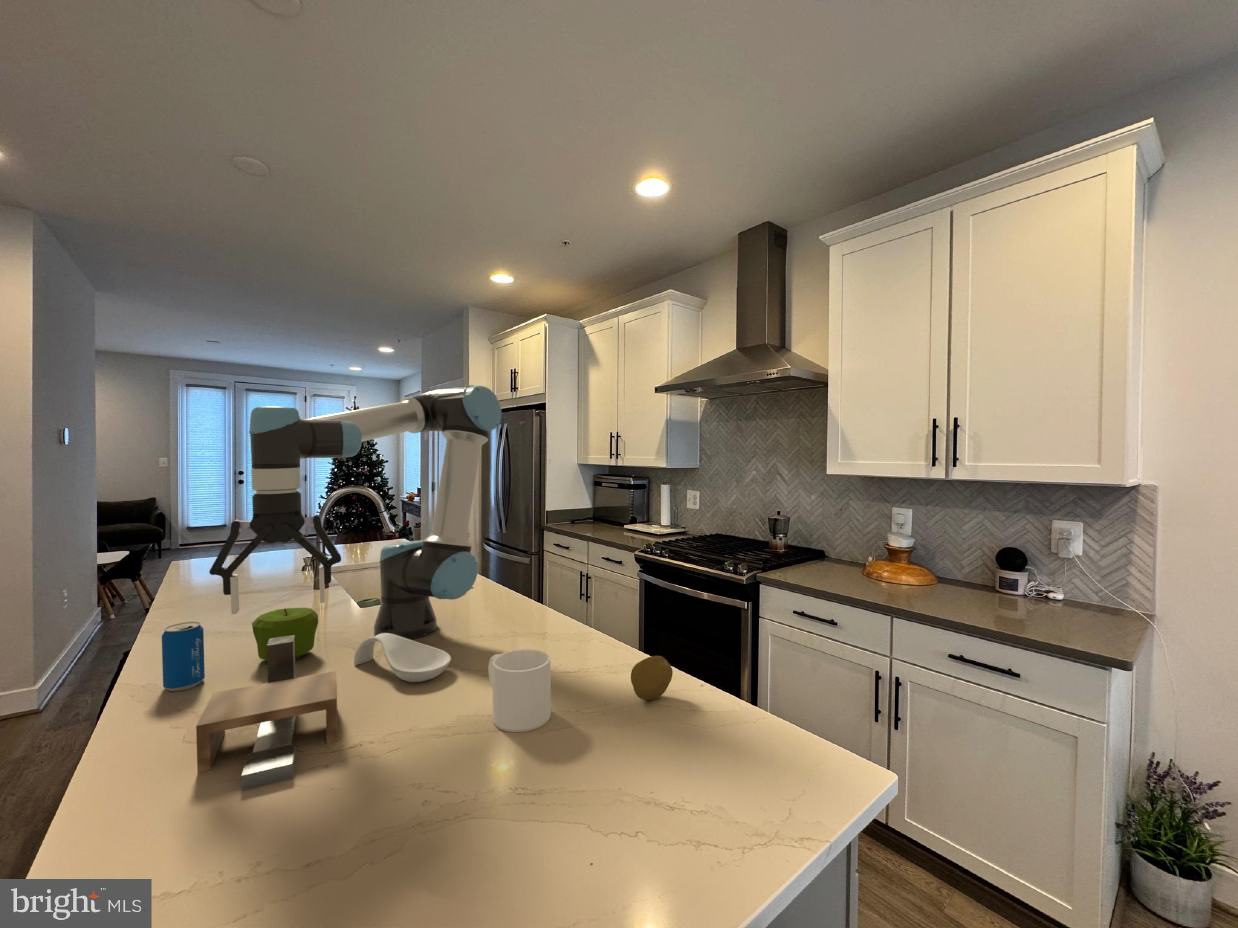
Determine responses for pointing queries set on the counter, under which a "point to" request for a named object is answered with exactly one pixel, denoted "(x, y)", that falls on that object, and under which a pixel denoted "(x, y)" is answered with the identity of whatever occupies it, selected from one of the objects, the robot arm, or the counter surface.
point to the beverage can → (183, 656)
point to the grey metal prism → (278, 670)
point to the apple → (286, 629)
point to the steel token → (268, 767)
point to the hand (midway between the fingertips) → (280, 606)
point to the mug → (520, 689)
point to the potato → (651, 677)
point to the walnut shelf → (264, 709)
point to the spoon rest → (405, 657)
